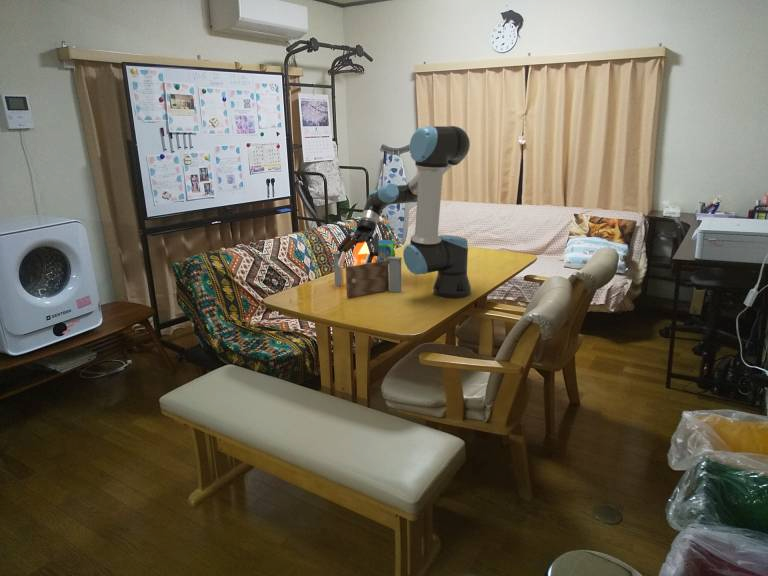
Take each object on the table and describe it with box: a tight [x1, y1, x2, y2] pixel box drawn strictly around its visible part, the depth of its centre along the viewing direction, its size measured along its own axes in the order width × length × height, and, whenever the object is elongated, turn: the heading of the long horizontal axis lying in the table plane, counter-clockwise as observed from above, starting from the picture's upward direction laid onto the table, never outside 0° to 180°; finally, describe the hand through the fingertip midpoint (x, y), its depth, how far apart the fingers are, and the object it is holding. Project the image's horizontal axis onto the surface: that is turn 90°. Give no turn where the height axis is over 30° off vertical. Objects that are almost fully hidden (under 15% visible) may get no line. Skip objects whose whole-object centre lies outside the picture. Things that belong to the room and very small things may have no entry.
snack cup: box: [376, 239, 397, 264], centre depth 266 cm, size 16×10×10 cm
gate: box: [345, 260, 390, 299], centre depth 212 cm, size 19×2×12 cm, turn 121°
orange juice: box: [352, 241, 376, 266], centre depth 225 cm, size 8×9×20 cm
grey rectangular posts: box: [332, 251, 402, 293], centre depth 220 cm, size 30×3×14 cm, turn 66°
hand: (351, 267), depth 215 cm, fingers open, 11 cm apart
